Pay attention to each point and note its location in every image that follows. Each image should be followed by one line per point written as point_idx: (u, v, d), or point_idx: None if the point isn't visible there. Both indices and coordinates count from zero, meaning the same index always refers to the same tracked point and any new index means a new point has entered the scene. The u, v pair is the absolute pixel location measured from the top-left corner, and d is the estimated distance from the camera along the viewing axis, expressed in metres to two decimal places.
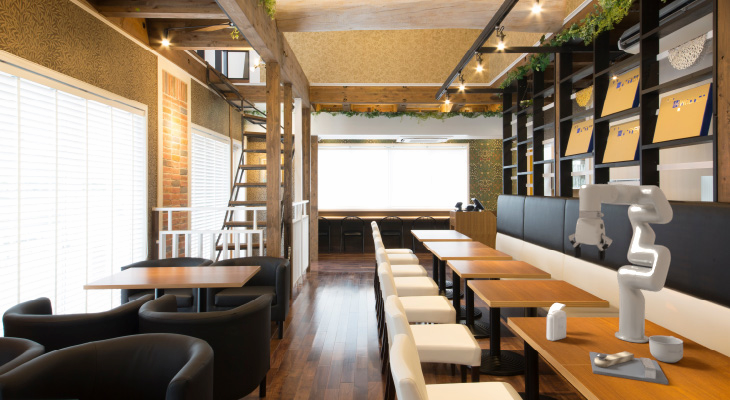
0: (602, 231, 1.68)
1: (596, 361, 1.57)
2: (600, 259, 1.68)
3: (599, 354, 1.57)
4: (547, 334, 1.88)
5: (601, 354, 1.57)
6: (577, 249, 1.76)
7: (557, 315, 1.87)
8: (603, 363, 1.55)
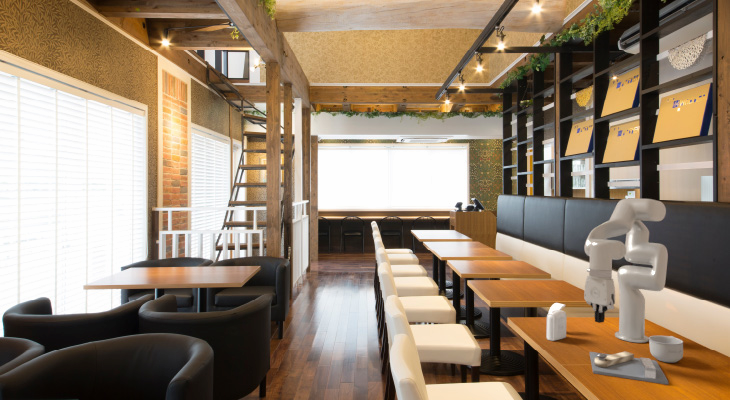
0: None
1: (596, 361, 1.57)
2: None
3: (599, 354, 1.57)
4: (547, 334, 1.88)
5: (601, 354, 1.57)
6: None
7: (557, 315, 1.87)
8: (603, 363, 1.55)
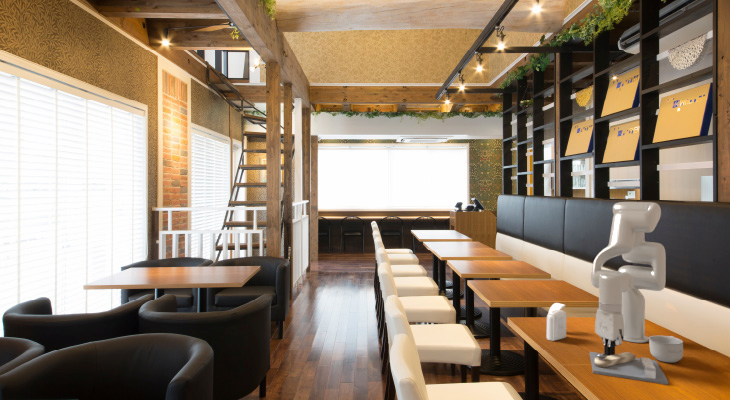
0: None
1: (596, 361, 1.57)
2: None
3: (599, 354, 1.57)
4: (547, 334, 1.88)
5: (601, 354, 1.57)
6: None
7: (557, 315, 1.87)
8: (603, 363, 1.55)
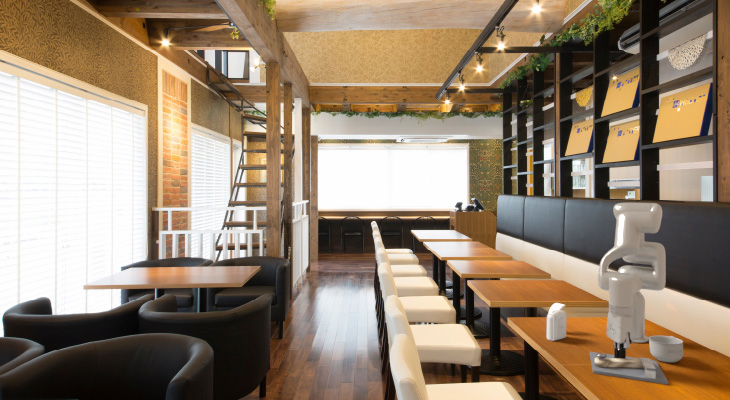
0: None
1: None
2: None
3: (599, 354, 1.58)
4: (547, 334, 1.88)
5: (601, 354, 1.57)
6: None
7: (557, 315, 1.87)
8: (600, 362, 1.56)
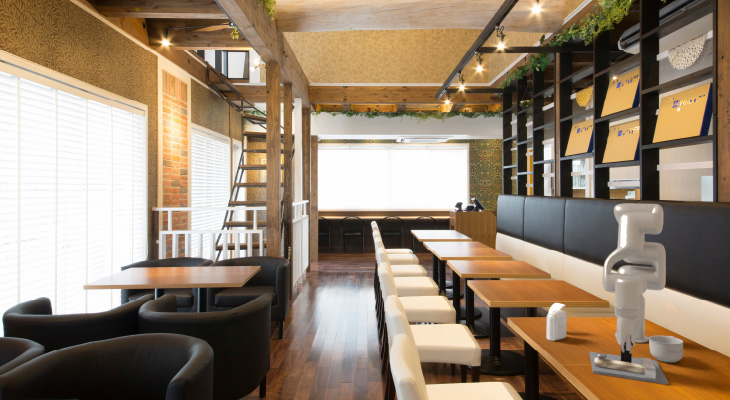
0: None
1: None
2: None
3: (599, 354, 1.58)
4: (547, 334, 1.88)
5: (601, 354, 1.57)
6: None
7: (557, 315, 1.87)
8: (597, 362, 1.56)
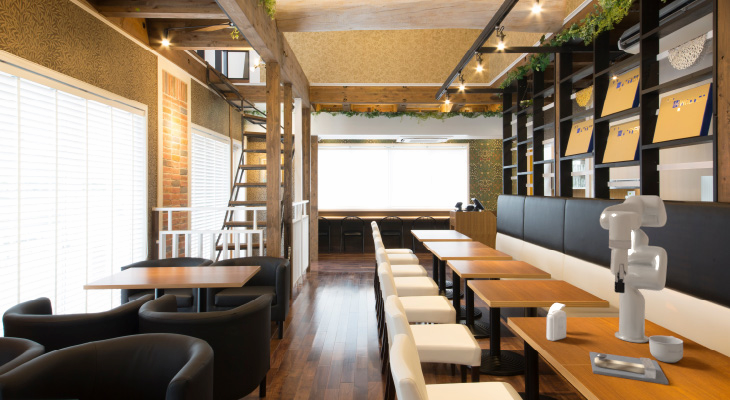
0: None
1: None
2: None
3: (599, 354, 1.58)
4: (547, 334, 1.88)
5: (601, 354, 1.57)
6: None
7: (557, 315, 1.87)
8: (597, 362, 1.56)
